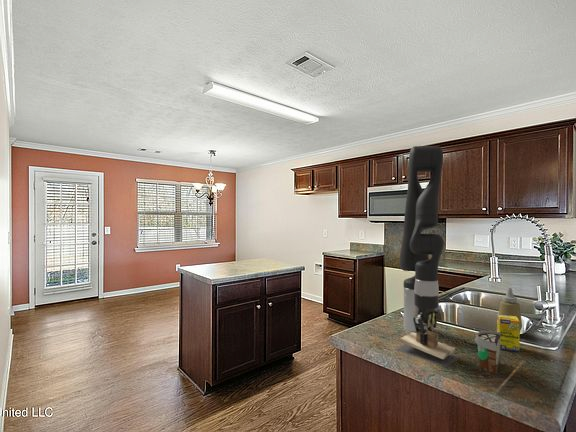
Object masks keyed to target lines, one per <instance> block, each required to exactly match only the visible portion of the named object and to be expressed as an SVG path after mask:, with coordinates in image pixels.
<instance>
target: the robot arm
mask: <svg viewBox="0 0 576 432" xmlns="http://www.w3.org/2000/svg"><path fill="white" fill-rule="evenodd" d="M443 153H444V152H443V149H442V147H441V146H438V145H431V146H430V145H416V146H413V147H411V148H410V151H409V155H408V171H407V173H408V174H407V175H408V176H407V177H408V178H407V192H406V201H405V206H404V207H405V209H404V217H403V218H404V221H403V222H404V223H403V235H402V241H401V247H400V254H399V267H400V269H401V270H402V271H405V272H414V276H411V277H408V278H405V279H404V281H403V328H404V329H405V330H407V331H409V332H411V333H412V332H414V333H417V332H419V333H420V343H421V344H423V345H427V331H428V330H429V331H432V332H434V330H435V329H436V327H437V322H438V319H439V318H438V317H439V314H440V313H439V310H437V309H438V308H439V301H440V300H439V297H440V296H439V295H440V294H439V290H440V289H439V278H438V277H439V276H438V275H439V262H440V259H441V255H442V253H443V250H444V246H445V241H444V238H443V237H442V236H441V235H440V234H438V233H423V231H425V230H428V229H432V228H435V227H437V226H438V222H439V213H438V212H439V211H438V210H439V206H438V205H439V193H440V187H441V180H442V174H443V173H442V171H443V163H444V154H443ZM419 172H421V173H423V172H424V173H431V177H430V180H429V182H428V183H427V185H426V186H425V188H424V189H423V187H422V185H421V182H420V180H419V177H418V173H419ZM430 255H431V257H430ZM424 329H425V330H424Z"/></svg>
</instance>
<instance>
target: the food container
mask: <svg viewBox="0 0 576 432" xmlns="http://www.w3.org/2000/svg"><path fill="white" fill-rule="evenodd" d="M500 338H501V337H500V332H497V330H496V331H493V330H481V331H478V332H477V333H476V335H475V339H474V342H475V343H476V344H477V352H478V366H479V367H480V368H481V370H483V371H485V372H487V373H489V374H492V375H496V376H497V374H498V370H499V366H500V364H501V349H500Z"/></svg>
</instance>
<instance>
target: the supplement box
mask: <svg viewBox="0 0 576 432" xmlns="http://www.w3.org/2000/svg"><path fill="white" fill-rule="evenodd" d="M496 324H497V325H496V332H500V337H501V338H500V351H501V350H504V351H509V352H515V353H520V338H521V337H520V334H521V333H520V332H521V330H520V321H519V320H518V318H517V317H516V316H507V315H500V314H499V313H497V314H496Z"/></svg>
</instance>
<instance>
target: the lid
mask: <svg viewBox="0 0 576 432" xmlns="http://www.w3.org/2000/svg"><path fill="white" fill-rule="evenodd" d="M424 330H425V329H424ZM399 342H400V343H403V345H405V344H407V345H409V346H412V347H414V348H417V349H419V350H421V351H424V352H426V353H429V354H431V355H433V356H436V357H438V358H441V359H444V358H446V357H447V356H449V355H450V354H453V353H455V352H456V347H453V346H451V345H448V344H445V343H442V342H440V341H439V333H436V332H434V331H429V330H428V331H427V345H423V344H421V343H420V333H419V332H412V331H411V332H410V333H408V334H406V335H404V336H402V337H400V338H399Z"/></svg>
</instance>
